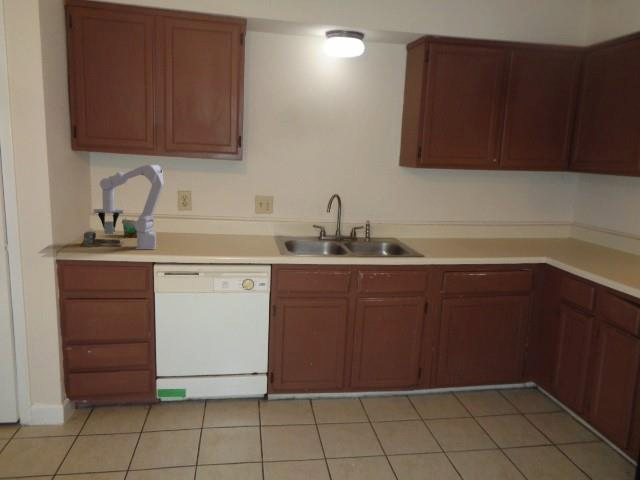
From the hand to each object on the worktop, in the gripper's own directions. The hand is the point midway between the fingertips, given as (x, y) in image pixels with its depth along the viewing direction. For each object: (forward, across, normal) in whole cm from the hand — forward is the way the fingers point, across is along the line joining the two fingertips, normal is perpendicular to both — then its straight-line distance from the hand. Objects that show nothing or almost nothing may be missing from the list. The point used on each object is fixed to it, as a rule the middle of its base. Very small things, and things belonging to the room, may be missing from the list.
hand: (109, 227), depth 257 cm
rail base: (+10, +4, 0) cm, 10 cm away
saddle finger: (+3, 0, 0) cm, 3 cm away
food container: (+10, -6, -22) cm, 25 cm away
